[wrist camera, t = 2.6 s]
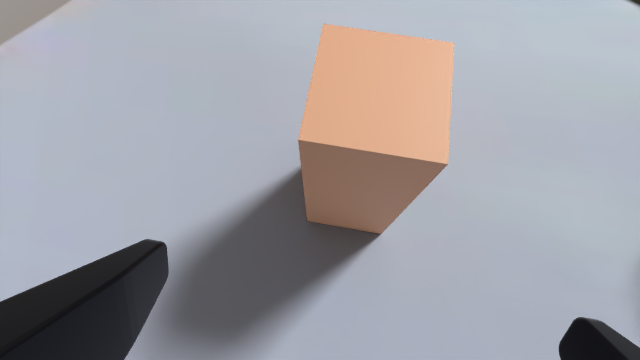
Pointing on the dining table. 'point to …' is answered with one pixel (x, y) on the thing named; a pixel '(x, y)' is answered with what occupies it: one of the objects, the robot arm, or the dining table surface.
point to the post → (373, 125)
